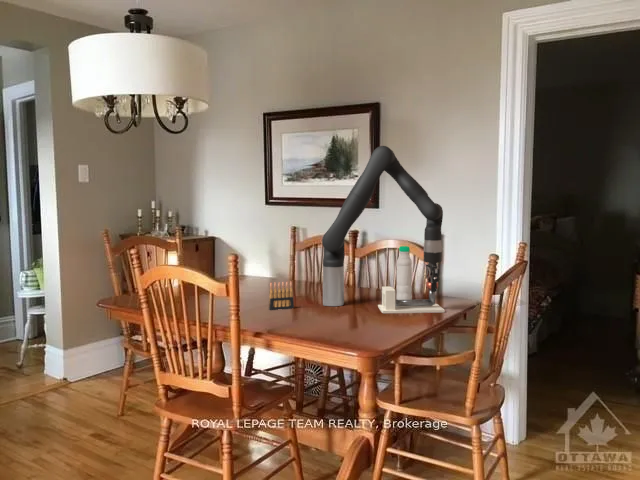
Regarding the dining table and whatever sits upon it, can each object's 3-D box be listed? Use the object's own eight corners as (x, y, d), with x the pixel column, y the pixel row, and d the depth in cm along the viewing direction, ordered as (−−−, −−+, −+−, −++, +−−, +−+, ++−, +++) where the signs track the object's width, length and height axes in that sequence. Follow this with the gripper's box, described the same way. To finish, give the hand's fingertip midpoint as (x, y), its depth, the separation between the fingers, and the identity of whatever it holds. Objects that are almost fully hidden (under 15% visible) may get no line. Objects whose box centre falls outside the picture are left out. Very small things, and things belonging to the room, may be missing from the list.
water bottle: (411, 302, 259) (411, 247, 257) (395, 301, 260) (396, 247, 258) (412, 299, 266) (412, 245, 263) (396, 298, 267) (397, 245, 265)
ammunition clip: (292, 307, 248) (292, 280, 247) (293, 308, 246) (293, 281, 245) (268, 309, 245) (268, 281, 244) (269, 310, 243) (269, 282, 242)
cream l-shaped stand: (382, 313, 236) (382, 291, 235) (378, 306, 249) (378, 286, 248) (444, 312, 237) (445, 290, 236) (437, 306, 250) (437, 285, 249)
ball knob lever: (392, 307, 240) (392, 283, 239) (390, 305, 245) (390, 281, 244) (439, 306, 241) (439, 283, 240) (436, 304, 246) (436, 281, 245)
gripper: (420, 248, 248) (419, 287, 250) (427, 252, 234) (427, 293, 235) (437, 248, 248) (436, 287, 250) (445, 252, 234) (445, 293, 236)
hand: (432, 290), depth 243 cm, fingers closed on ball knob lever, 5 cm apart
